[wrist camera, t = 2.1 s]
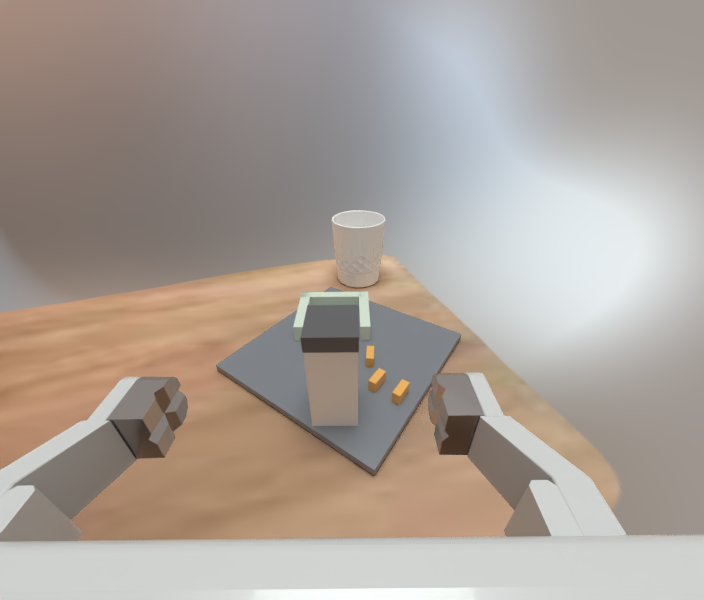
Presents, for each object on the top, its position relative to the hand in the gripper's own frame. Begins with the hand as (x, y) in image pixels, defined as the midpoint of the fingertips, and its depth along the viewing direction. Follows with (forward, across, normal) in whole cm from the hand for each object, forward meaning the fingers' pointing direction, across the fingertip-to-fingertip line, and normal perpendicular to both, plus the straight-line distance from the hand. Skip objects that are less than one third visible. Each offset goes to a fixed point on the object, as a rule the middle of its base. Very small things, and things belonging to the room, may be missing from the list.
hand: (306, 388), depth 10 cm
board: (+20, -1, +17) cm, 26 cm away
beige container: (+12, 0, +16) cm, 20 cm away
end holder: (+25, +1, +17) cm, 30 cm away
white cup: (+38, -2, +17) cm, 42 cm away
